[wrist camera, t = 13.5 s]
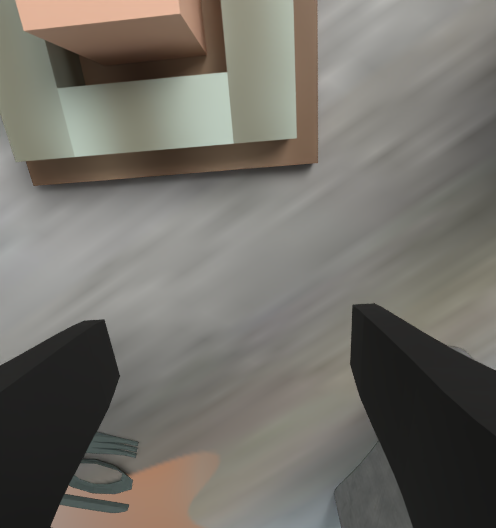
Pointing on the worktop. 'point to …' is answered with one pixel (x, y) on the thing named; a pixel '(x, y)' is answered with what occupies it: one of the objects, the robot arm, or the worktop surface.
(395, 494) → the hip flask
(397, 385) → the robot arm
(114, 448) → the cutlery set
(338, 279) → the worktop surface
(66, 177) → the notched board
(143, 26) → the block
